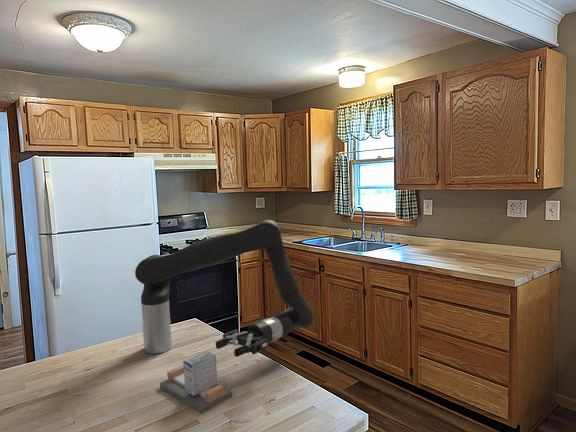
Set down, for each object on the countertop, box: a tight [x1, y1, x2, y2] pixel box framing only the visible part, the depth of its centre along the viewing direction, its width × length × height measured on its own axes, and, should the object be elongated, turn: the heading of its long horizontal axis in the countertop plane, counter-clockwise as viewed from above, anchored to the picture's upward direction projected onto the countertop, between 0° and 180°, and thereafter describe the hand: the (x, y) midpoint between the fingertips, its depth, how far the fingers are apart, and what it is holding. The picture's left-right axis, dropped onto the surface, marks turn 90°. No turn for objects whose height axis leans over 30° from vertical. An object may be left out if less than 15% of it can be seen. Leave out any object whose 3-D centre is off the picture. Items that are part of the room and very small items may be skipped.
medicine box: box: [182, 350, 218, 396], centre depth 108 cm, size 8×4×9 cm, turn 138°
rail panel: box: [159, 365, 233, 414], centre depth 111 cm, size 20×10×4 cm, turn 48°
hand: (225, 349), depth 115 cm, fingers open, 8 cm apart
